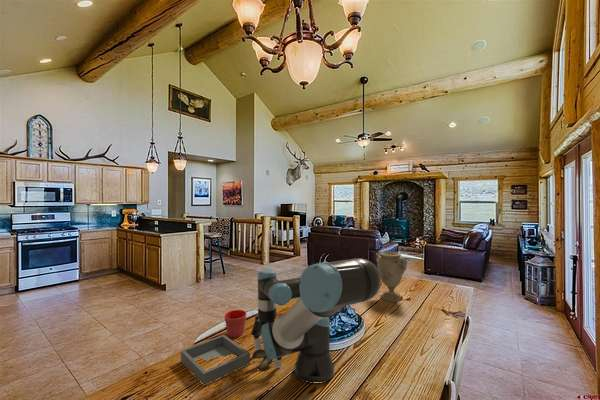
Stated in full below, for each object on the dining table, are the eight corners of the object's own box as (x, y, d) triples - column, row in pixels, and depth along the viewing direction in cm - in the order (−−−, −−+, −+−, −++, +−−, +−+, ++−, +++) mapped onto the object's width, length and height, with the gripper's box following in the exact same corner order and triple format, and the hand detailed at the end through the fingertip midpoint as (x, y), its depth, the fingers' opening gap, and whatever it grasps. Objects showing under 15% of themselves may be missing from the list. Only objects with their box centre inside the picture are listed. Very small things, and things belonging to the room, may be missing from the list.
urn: (367, 296, 191) (367, 252, 191) (384, 290, 202) (384, 248, 202) (398, 307, 172) (398, 258, 172) (415, 300, 183) (415, 254, 182)
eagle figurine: (262, 353, 120) (247, 359, 113) (270, 340, 119) (257, 346, 112) (273, 368, 116) (259, 375, 109) (282, 355, 115) (268, 362, 108)
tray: (250, 364, 114) (249, 353, 114) (203, 386, 101) (203, 374, 101) (223, 344, 130) (223, 334, 130) (180, 361, 116) (180, 350, 116)
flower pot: (224, 340, 133) (224, 320, 133) (224, 330, 144) (224, 310, 144) (247, 337, 136) (247, 317, 136) (245, 327, 147) (245, 308, 147)
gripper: (294, 314, 110) (294, 369, 110) (257, 298, 127) (257, 345, 128) (279, 320, 104) (279, 377, 105) (242, 302, 122) (243, 351, 123)
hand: (267, 359), depth 116 cm, fingers open, 12 cm apart
